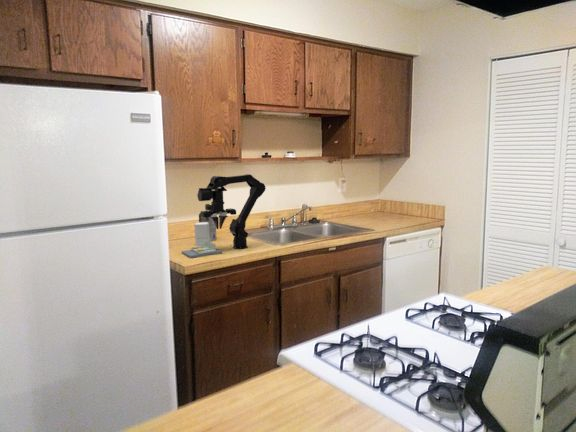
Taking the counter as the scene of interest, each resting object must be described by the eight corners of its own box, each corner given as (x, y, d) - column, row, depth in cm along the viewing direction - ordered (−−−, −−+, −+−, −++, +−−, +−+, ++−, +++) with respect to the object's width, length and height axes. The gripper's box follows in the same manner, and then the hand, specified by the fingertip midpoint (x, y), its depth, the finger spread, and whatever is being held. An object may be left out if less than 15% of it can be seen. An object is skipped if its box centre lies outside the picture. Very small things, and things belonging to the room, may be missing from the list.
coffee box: (199, 239, 258) (197, 213, 255) (207, 238, 263) (206, 212, 260) (209, 241, 252) (208, 215, 250) (217, 239, 257) (216, 213, 254)
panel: (206, 247, 230) (206, 240, 230) (215, 251, 220) (215, 244, 220) (190, 249, 225) (190, 242, 225) (199, 254, 215) (199, 246, 215)
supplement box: (210, 243, 248) (209, 221, 246) (208, 245, 240) (207, 224, 238) (197, 243, 247) (196, 222, 245) (195, 246, 240) (194, 224, 238)
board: (212, 248, 233) (212, 242, 232) (222, 253, 222) (222, 246, 221) (181, 253, 223) (181, 246, 223) (190, 258, 212) (190, 251, 212)
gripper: (227, 197, 236) (228, 224, 238) (195, 199, 226) (196, 228, 228) (236, 199, 227) (237, 227, 229) (203, 201, 216) (204, 231, 219)
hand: (218, 228), depth 226 cm, fingers closed
